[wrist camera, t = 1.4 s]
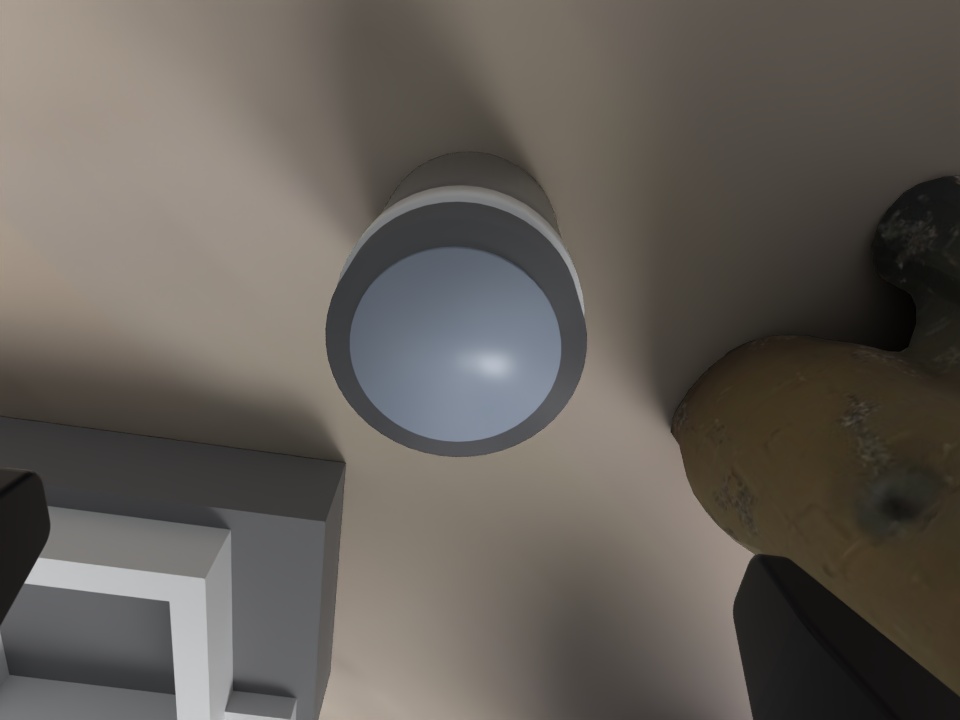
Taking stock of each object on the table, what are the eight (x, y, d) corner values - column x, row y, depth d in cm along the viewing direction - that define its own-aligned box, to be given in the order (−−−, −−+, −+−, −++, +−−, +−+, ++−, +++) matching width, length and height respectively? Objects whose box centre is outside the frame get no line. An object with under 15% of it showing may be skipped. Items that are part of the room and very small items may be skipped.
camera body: (345, 463, 23) (308, 570, 18) (330, 672, 27) (297, 801, 23) (-89, 404, 22) (-237, 500, 18) (-34, 628, 27) (-142, 751, 22)
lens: (579, 164, 19) (622, 240, 12) (543, 338, 21) (563, 481, 14) (385, 134, 18) (324, 194, 12) (370, 314, 21) (312, 447, 14)
